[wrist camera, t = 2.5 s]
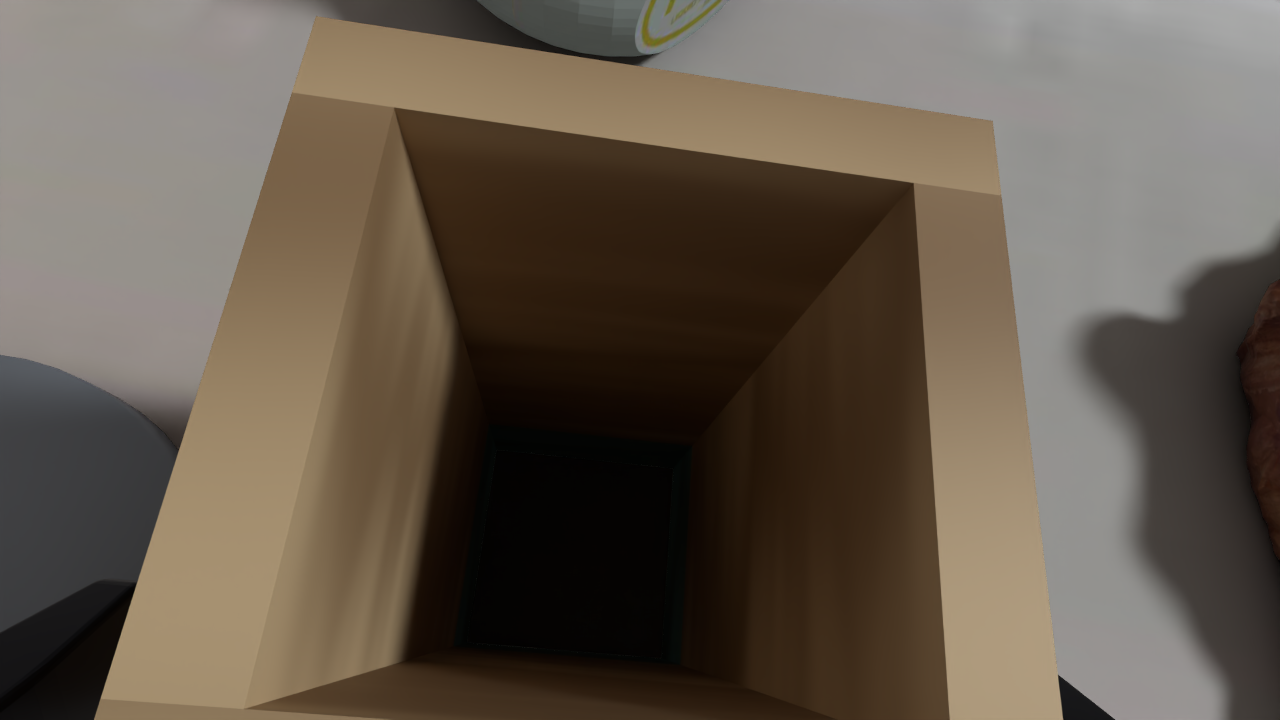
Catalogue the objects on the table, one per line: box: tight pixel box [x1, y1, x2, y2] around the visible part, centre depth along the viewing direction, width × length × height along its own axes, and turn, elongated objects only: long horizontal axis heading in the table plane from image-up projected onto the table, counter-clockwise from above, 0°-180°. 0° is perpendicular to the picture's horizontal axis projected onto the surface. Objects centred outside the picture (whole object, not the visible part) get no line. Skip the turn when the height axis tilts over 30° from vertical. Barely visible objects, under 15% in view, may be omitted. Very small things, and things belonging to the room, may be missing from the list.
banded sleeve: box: [94, 16, 1063, 720], centre depth 11 cm, size 6×6×12 cm
